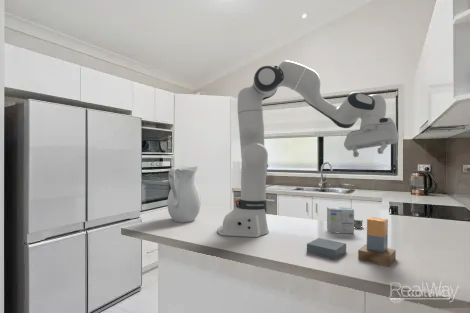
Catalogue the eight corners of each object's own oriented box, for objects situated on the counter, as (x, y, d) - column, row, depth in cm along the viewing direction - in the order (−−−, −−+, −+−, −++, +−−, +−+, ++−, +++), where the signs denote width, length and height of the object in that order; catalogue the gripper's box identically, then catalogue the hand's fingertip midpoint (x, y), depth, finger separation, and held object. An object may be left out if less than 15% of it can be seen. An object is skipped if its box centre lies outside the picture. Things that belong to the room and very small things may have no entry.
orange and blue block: (366, 249, 90) (367, 219, 90) (370, 246, 94) (371, 216, 94) (383, 253, 87) (384, 221, 87) (387, 249, 91) (387, 219, 91)
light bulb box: (349, 230, 128) (350, 207, 129) (354, 234, 122) (354, 209, 122) (326, 229, 129) (326, 206, 130) (329, 233, 123) (329, 208, 123)
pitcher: (177, 215, 154) (178, 165, 154) (205, 218, 149) (206, 166, 149) (152, 224, 131) (153, 166, 132) (183, 228, 126) (185, 167, 126)
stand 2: (358, 259, 90) (358, 250, 90) (366, 252, 97) (366, 244, 97) (389, 266, 84) (389, 256, 84) (395, 259, 91) (395, 249, 91)
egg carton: (336, 226, 137) (336, 218, 137) (341, 224, 143) (341, 216, 143) (359, 230, 130) (359, 221, 130) (363, 227, 136) (364, 219, 136)
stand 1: (306, 252, 96) (306, 243, 96) (318, 246, 103) (319, 237, 103) (335, 259, 89) (335, 250, 89) (346, 252, 97) (346, 243, 97)
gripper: (344, 128, 121) (338, 153, 115) (395, 117, 106) (392, 145, 100) (350, 136, 124) (345, 162, 118) (401, 127, 109) (398, 155, 103)
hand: (367, 154), depth 109 cm, fingers open, 8 cm apart
